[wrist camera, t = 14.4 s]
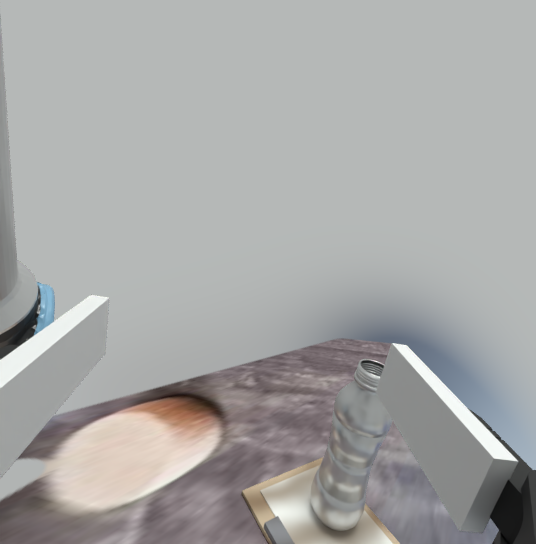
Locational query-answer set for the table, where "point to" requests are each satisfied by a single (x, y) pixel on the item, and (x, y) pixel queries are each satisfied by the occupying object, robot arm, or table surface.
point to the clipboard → (305, 513)
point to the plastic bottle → (351, 449)
